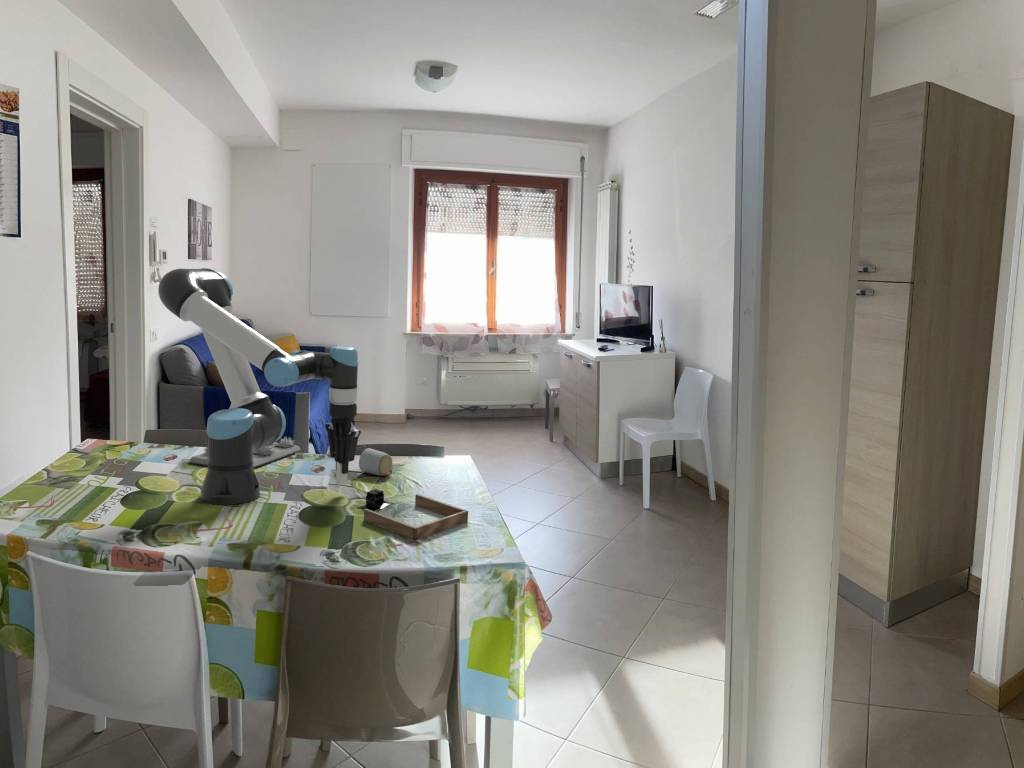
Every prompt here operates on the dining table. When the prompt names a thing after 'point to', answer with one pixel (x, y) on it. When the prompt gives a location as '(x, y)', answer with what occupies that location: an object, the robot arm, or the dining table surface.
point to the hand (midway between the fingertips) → (341, 483)
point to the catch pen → (453, 519)
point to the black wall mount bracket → (375, 500)
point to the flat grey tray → (260, 453)
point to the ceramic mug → (375, 462)
